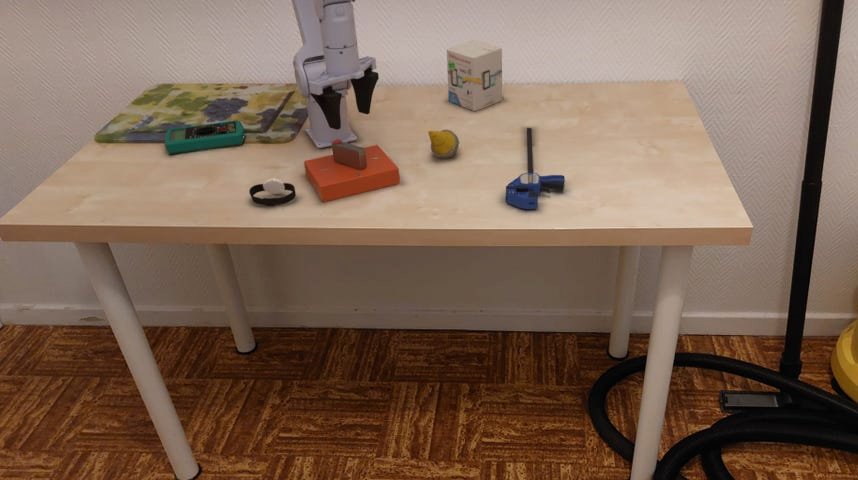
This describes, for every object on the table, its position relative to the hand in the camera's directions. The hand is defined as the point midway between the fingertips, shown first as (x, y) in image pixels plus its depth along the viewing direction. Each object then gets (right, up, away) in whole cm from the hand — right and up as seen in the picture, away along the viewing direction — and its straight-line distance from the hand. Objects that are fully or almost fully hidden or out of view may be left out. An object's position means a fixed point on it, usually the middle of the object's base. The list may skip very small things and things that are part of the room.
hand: (349, 120), depth 131 cm
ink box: (+23, +10, +30) cm, 39 cm away
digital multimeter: (-31, -1, +17) cm, 35 cm away
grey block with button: (0, -8, 0) cm, 8 cm away
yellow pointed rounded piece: (+17, -6, +8) cm, 19 cm away
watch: (-12, -15, -4) cm, 20 cm away
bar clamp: (+33, -8, +4) cm, 34 cm away
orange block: (0, -10, +2) cm, 10 cm away
